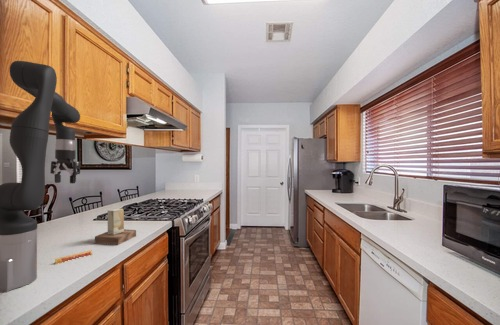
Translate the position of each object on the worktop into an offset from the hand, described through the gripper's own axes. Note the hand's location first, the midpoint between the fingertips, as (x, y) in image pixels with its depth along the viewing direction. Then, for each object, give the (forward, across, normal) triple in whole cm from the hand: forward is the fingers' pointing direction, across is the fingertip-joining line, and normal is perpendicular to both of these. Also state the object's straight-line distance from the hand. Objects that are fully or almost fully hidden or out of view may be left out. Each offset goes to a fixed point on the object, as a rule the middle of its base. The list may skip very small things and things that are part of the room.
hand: (65, 183), depth 106 cm
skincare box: (+27, +18, +12) cm, 34 cm away
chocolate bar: (+31, +18, -11) cm, 38 cm away
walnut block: (+31, +18, +12) cm, 37 cm away
